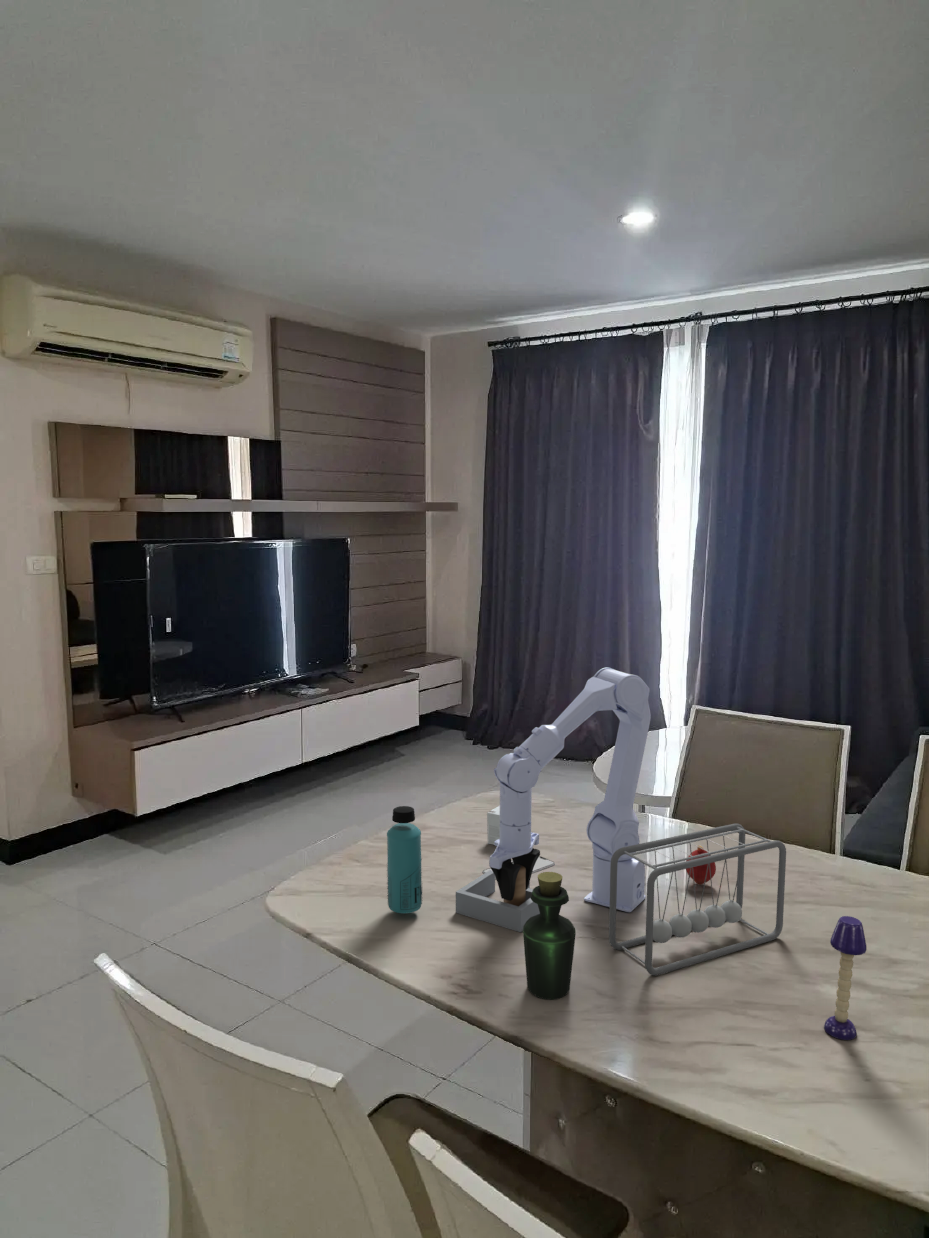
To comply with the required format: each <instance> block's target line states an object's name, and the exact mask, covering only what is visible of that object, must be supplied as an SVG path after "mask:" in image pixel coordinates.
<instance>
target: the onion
mask: <svg viewBox="0 0 929 1238" xmlns="http://www.w3.org/2000/svg"><path fill="white" fill-rule="evenodd" d="M697 846H698V847H697V849H695V850H693V851H691V852H692V856H696V855H700V854H705V853H708V850H707V851H705V850H706V849H705V850H703V849H704V847H703V846H702V845H697ZM699 847H700V848H699ZM701 848H703V849H701ZM690 855H691V853H690V854H689V855H688V856H687V857H691V856H690ZM707 856H708V855H707ZM707 856H703V857H707ZM709 856H710V855H709ZM698 858H702V857H698ZM698 858H694V859H698ZM694 859H693V860H694ZM690 860H691V859H690ZM685 861H689V860H685ZM707 866H708V864H704V865H700V866H696V867H693V872H692V868H691V873H690V868H687V869H685V871H686V873H687V875H688V876H689V873H690V878H691V880H693V873H694V883H695V884H697V885H699V886H701V885H704V882H705V877H706V871H707ZM710 870H711V879H710ZM716 872H717V865H716V862H713V863H710V869H709V866H708V871H707V877H706V882H705V884H706V883H708V882H710V881H711V880H712V879H713V878H714V876H715V875H716Z"/></svg>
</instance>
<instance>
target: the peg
mask: <svg viewBox="0 0 929 1238" xmlns="http://www.w3.org/2000/svg"><path fill="white" fill-rule="evenodd" d="M520 866H521V865H520ZM525 901H526V868H525V867H524V866H521V868H520V870H519V872H518V875H517V878H516V883H515V892H514V897H513V900H511V901H509V900H506V899H503V902H505V903H508V904H512V905H515V906H520V905H521V904H523V903H524V902H525Z"/></svg>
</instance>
